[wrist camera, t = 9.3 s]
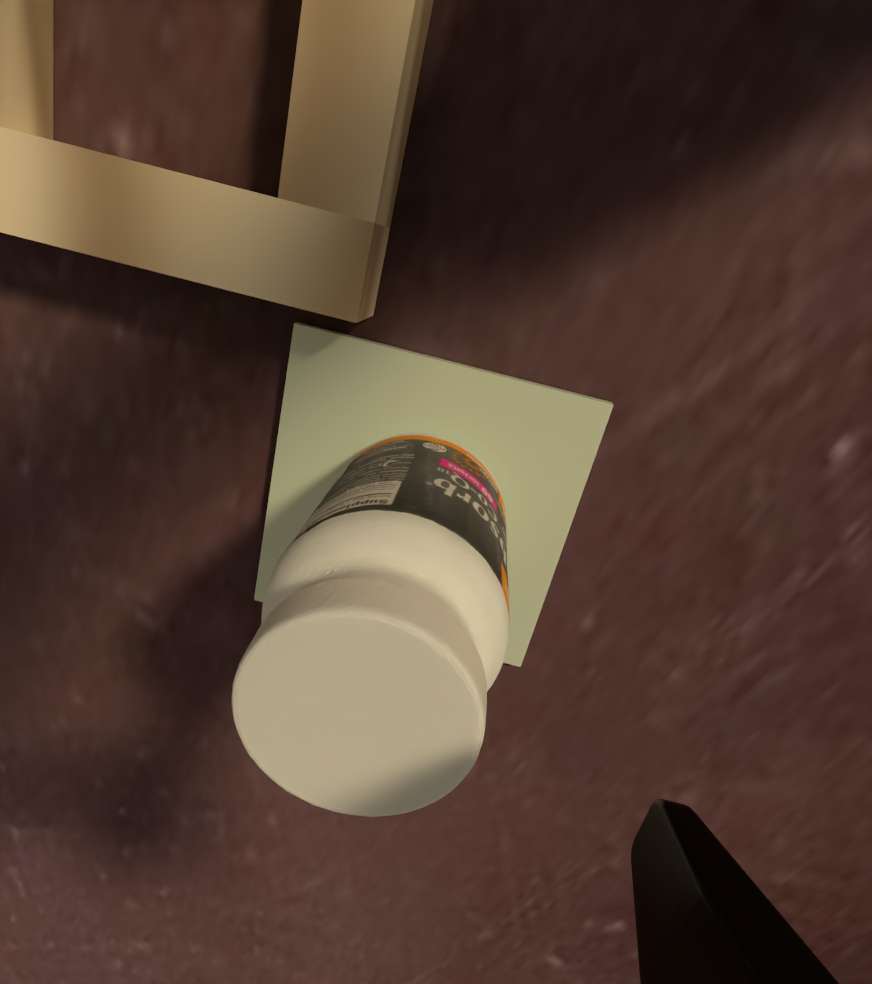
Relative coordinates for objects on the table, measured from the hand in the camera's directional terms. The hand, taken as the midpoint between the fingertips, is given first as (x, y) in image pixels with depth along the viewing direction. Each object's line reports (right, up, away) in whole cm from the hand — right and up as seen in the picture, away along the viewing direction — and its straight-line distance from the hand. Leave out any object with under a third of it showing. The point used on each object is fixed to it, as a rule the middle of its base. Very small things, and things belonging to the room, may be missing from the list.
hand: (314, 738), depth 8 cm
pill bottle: (+1, +3, +12) cm, 13 cm away
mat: (+1, +3, +13) cm, 13 cm away
